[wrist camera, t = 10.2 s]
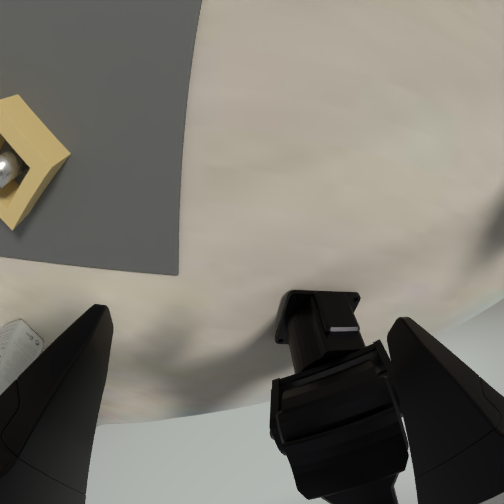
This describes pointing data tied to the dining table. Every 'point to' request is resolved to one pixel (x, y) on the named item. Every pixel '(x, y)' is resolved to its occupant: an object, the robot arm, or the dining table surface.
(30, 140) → the link
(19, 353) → the skincare box
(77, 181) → the mat
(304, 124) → the dining table surface
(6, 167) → the cylinder
